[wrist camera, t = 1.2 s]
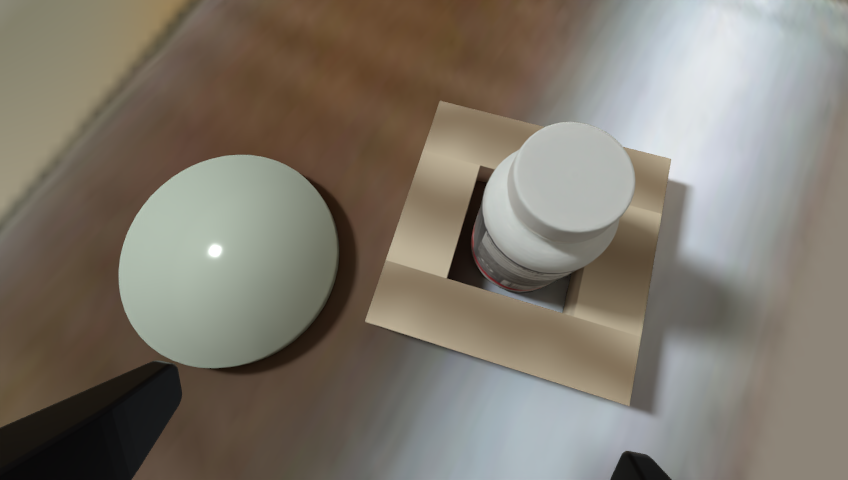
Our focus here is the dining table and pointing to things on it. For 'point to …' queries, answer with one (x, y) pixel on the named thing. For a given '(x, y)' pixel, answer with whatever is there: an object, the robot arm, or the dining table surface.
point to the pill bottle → (552, 206)
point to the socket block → (503, 316)
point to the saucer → (228, 262)
